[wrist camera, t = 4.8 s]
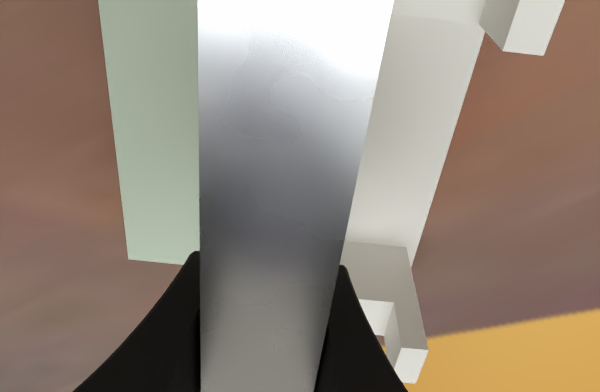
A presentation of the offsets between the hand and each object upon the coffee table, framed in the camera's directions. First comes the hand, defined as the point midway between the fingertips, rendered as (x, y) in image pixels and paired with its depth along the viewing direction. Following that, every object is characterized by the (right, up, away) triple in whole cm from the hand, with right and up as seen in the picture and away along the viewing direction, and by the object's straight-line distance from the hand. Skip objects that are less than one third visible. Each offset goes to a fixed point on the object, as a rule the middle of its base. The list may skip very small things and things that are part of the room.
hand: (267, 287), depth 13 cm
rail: (0, 0, 0) cm, 0 cm away
